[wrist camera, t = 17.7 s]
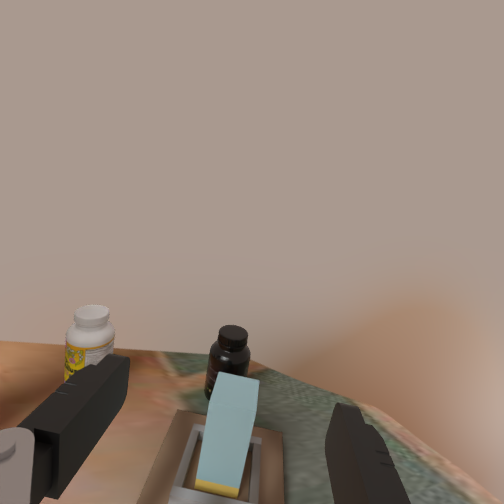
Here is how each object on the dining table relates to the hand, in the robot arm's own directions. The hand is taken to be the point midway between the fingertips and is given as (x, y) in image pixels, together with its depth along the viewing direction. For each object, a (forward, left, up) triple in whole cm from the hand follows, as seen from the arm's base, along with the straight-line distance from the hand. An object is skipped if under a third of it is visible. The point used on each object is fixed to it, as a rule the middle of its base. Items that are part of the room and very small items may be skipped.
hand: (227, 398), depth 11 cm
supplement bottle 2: (-23, +25, -28) cm, 44 cm away
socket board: (-12, +15, -28) cm, 34 cm away
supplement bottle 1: (-37, +8, -28) cm, 47 cm away
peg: (-12, +15, -27) cm, 33 cm away
